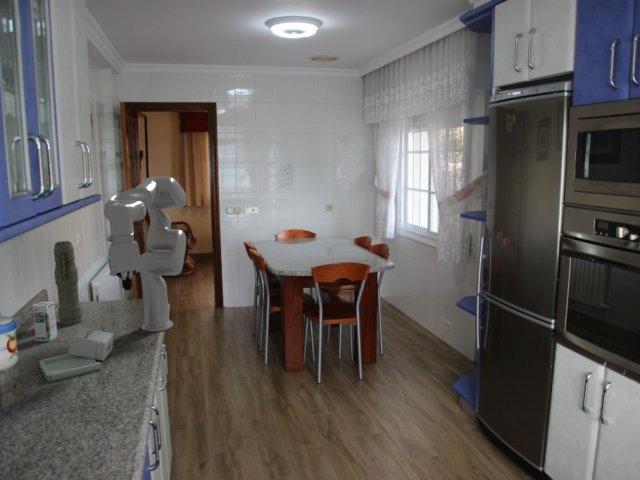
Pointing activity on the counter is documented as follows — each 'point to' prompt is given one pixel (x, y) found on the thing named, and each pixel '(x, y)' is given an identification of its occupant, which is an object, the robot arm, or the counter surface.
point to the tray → (67, 366)
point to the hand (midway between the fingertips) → (127, 289)
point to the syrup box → (45, 321)
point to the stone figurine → (67, 284)
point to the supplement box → (90, 343)
